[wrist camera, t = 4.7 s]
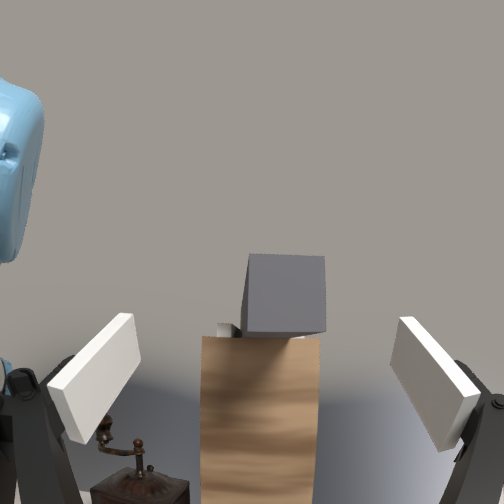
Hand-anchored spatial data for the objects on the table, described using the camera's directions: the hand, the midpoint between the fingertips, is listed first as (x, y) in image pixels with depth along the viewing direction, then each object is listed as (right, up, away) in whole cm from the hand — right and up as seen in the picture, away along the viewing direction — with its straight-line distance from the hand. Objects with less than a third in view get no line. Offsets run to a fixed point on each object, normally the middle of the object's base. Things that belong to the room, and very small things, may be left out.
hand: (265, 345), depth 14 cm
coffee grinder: (-17, -35, +13) cm, 41 cm away
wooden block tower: (0, -33, +7) cm, 34 cm away
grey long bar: (0, -4, +14) cm, 15 cm away
